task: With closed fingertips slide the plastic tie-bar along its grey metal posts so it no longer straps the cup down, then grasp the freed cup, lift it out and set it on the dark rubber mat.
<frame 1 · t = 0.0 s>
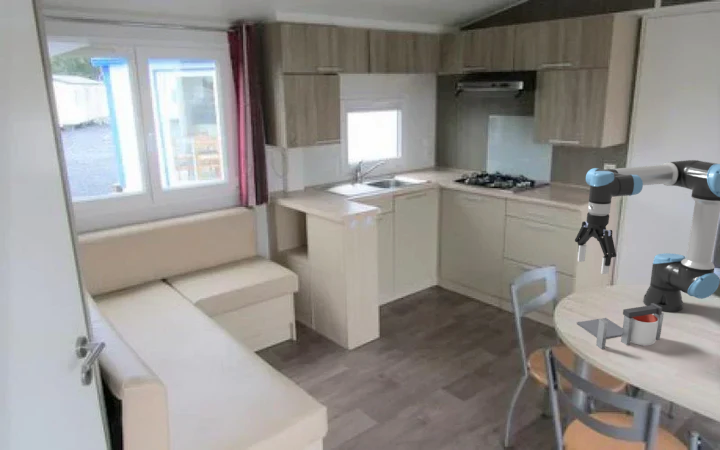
hand: (592, 267, 199), 28 cm above the table, fingers open, 13 cm apart
mat: (602, 328, 211), on the table
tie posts: (625, 342, 200), on the table
cup: (640, 341, 201), on the table
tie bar: (641, 311, 197), point 12 cm above the table, slide at 0.0 cm
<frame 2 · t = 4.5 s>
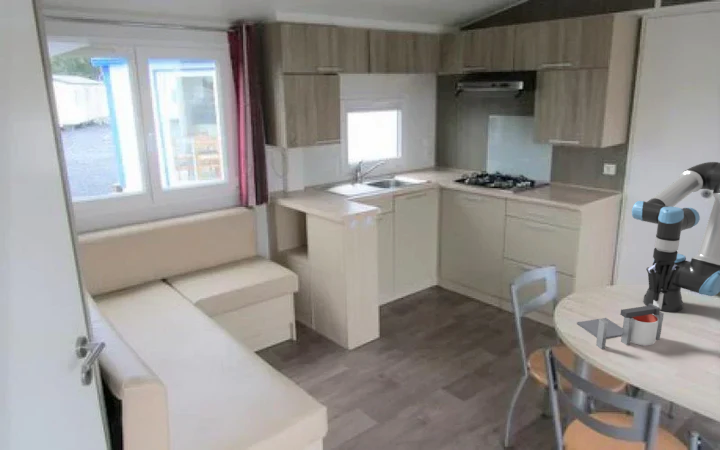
hand: (656, 308, 199), 13 cm above the table, fingers closed
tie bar: (639, 311, 197), point 12 cm above the table, slide at 1.1 cm, touching gripper
everything else where it was.
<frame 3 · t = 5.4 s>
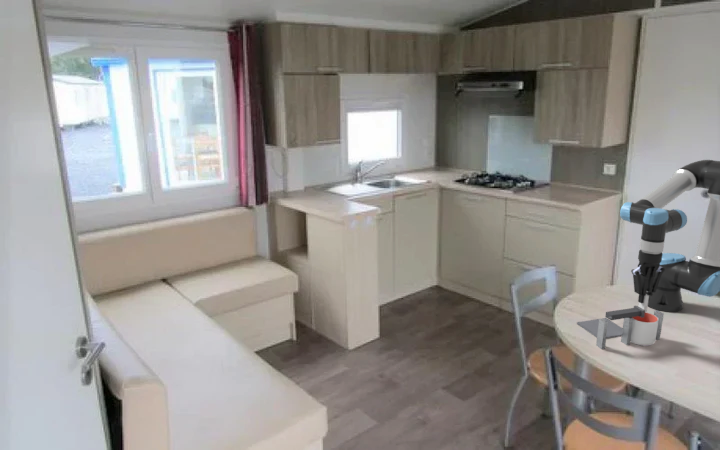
hand: (642, 310, 197), 13 cm above the table, fingers closed
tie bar: (624, 313, 196), point 12 cm above the table, slide at 7.6 cm, touching gripper
everything else where it was.
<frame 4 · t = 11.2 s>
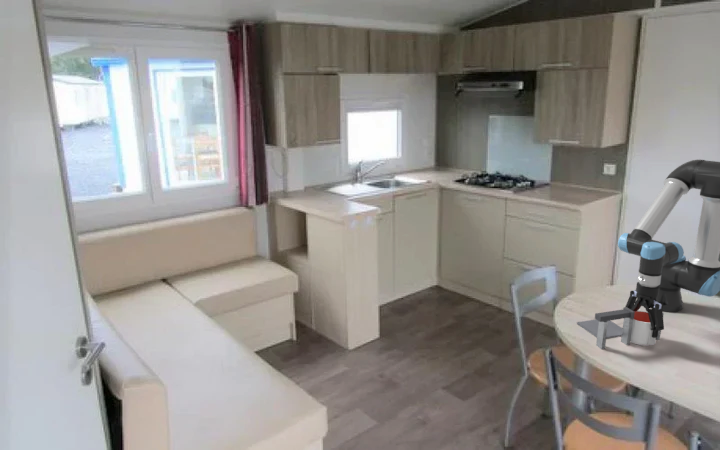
hand: (640, 337, 201), 1 cm above the table, fingers closed on cup, 10 cm apart
cup: (640, 341, 201), on the table, touching gripper
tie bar: (614, 315, 195), point 12 cm above the table, slide at 12.2 cm
when the fingers open (4 cm above the table, at t = 17.0 s): cup drops 2 cm, resting on mat.
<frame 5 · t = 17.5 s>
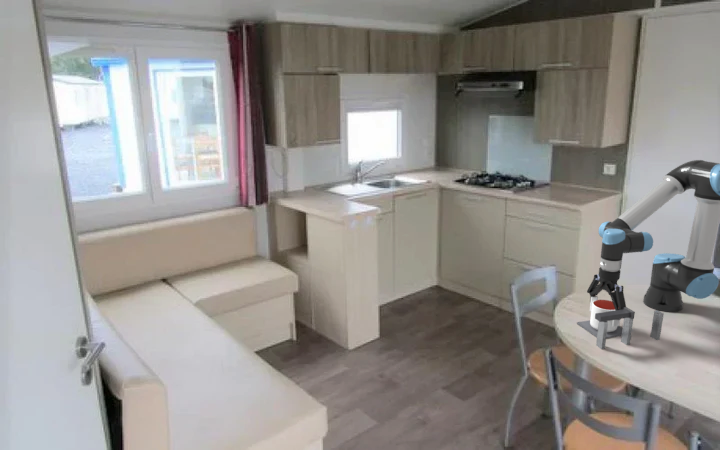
hand: (603, 318, 210), 5 cm above the table, fingers open, 13 cm apart
cup: (603, 328, 210), resting on mat
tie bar: (614, 315, 195), point 12 cm above the table, slide at 12.2 cm, touching gripper, hand
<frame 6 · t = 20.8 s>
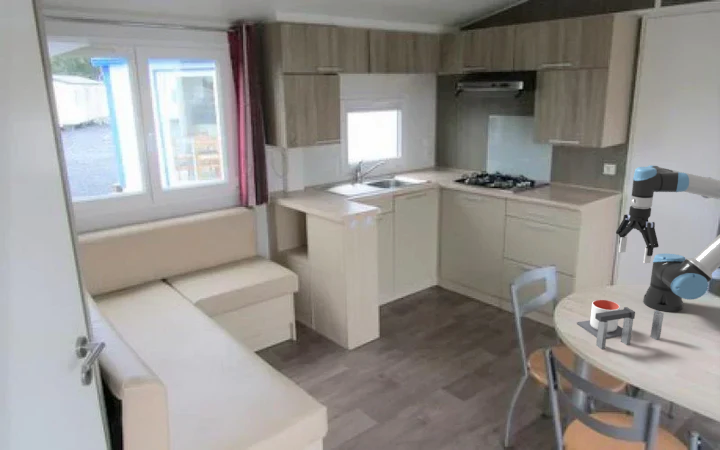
hand: (633, 257, 212), 27 cm above the table, fingers open, 13 cm apart
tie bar: (614, 315, 195), point 12 cm above the table, slide at 12.0 cm
everything else where it was.
at the end: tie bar slide at 12.0 cm; cup 0.1 cm from the mat (horizontally); cup tilted 0° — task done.
